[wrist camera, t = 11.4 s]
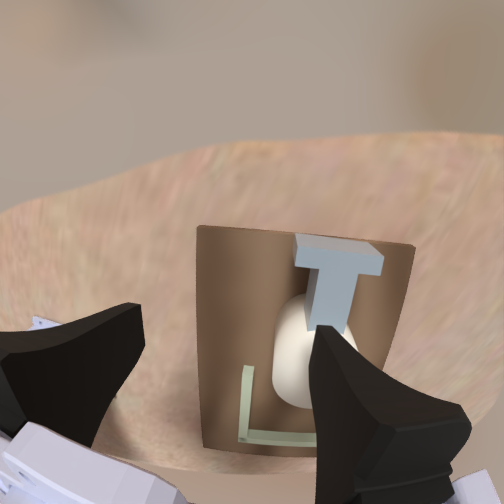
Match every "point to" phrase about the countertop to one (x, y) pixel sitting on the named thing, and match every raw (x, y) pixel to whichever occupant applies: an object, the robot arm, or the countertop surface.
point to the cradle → (260, 435)
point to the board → (273, 327)
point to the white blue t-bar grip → (317, 307)
